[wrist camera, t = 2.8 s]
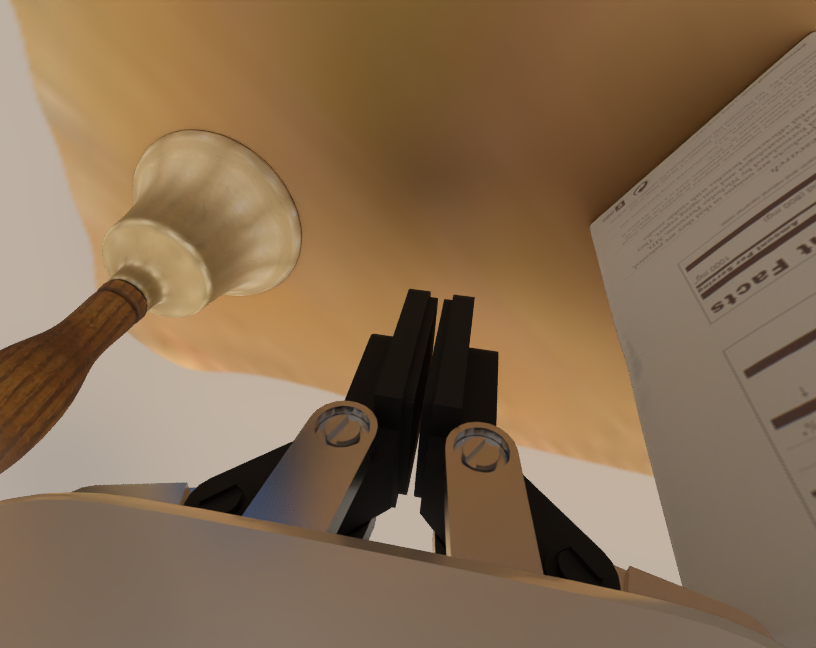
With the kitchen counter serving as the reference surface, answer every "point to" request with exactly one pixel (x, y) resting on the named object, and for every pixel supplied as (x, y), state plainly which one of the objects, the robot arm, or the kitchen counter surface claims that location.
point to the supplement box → (730, 344)
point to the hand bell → (157, 269)
